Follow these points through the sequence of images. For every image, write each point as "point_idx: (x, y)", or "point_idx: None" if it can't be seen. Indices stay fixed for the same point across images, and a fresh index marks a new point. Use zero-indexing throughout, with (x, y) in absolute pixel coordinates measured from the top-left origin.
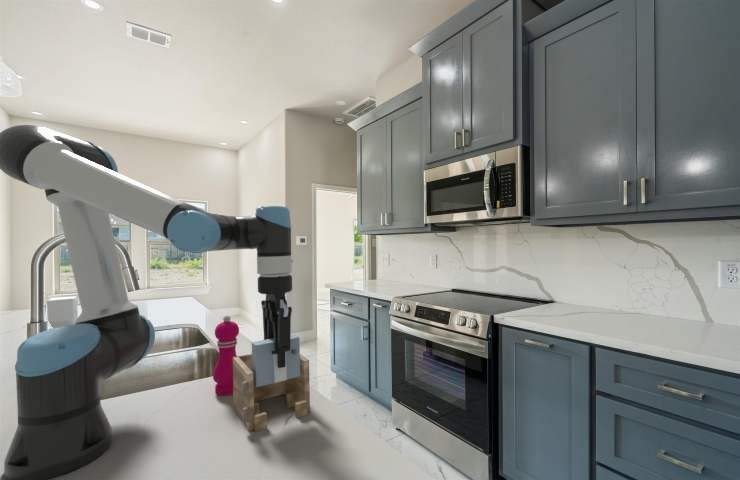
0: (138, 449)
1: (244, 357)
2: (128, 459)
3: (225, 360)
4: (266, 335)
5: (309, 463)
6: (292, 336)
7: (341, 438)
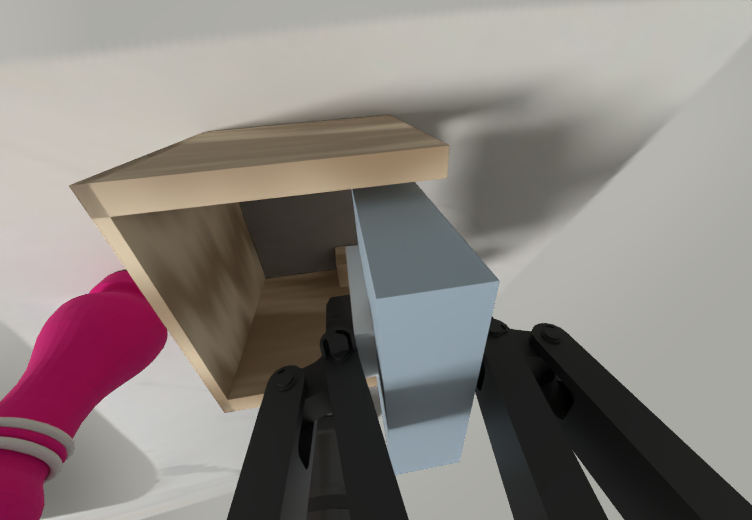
0: None
1: (221, 378)
2: (374, 394)
3: (108, 387)
4: (312, 447)
5: (571, 192)
6: (431, 321)
7: (565, 89)
